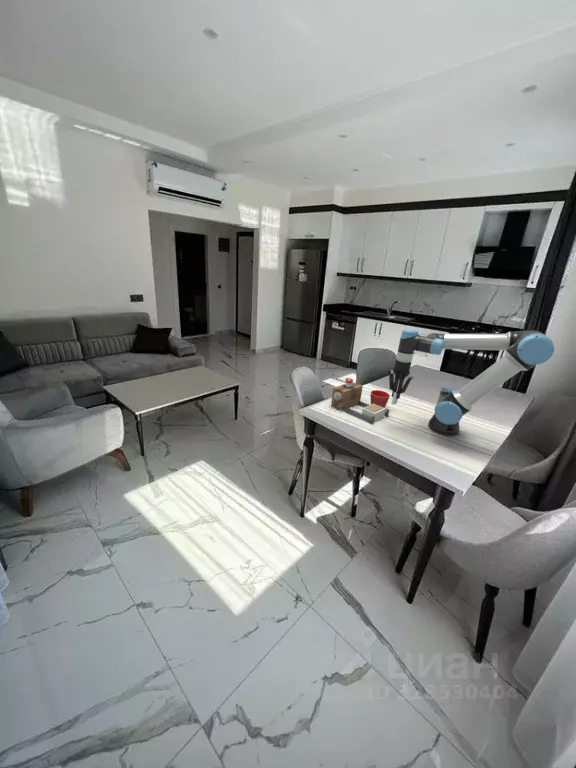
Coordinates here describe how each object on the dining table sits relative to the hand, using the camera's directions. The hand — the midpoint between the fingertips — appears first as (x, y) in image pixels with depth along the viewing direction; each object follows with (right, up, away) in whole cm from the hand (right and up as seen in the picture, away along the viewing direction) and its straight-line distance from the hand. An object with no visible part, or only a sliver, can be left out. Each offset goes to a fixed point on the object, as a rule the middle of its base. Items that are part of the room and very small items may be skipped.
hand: (394, 403), depth 164 cm
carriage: (-8, -8, +11) cm, 16 cm away
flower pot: (-2, -5, +23) cm, 24 cm away
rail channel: (-12, -7, +15) cm, 20 cm away
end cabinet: (-21, -3, +24) cm, 32 cm away
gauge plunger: (-20, +5, +21) cm, 30 cm away
